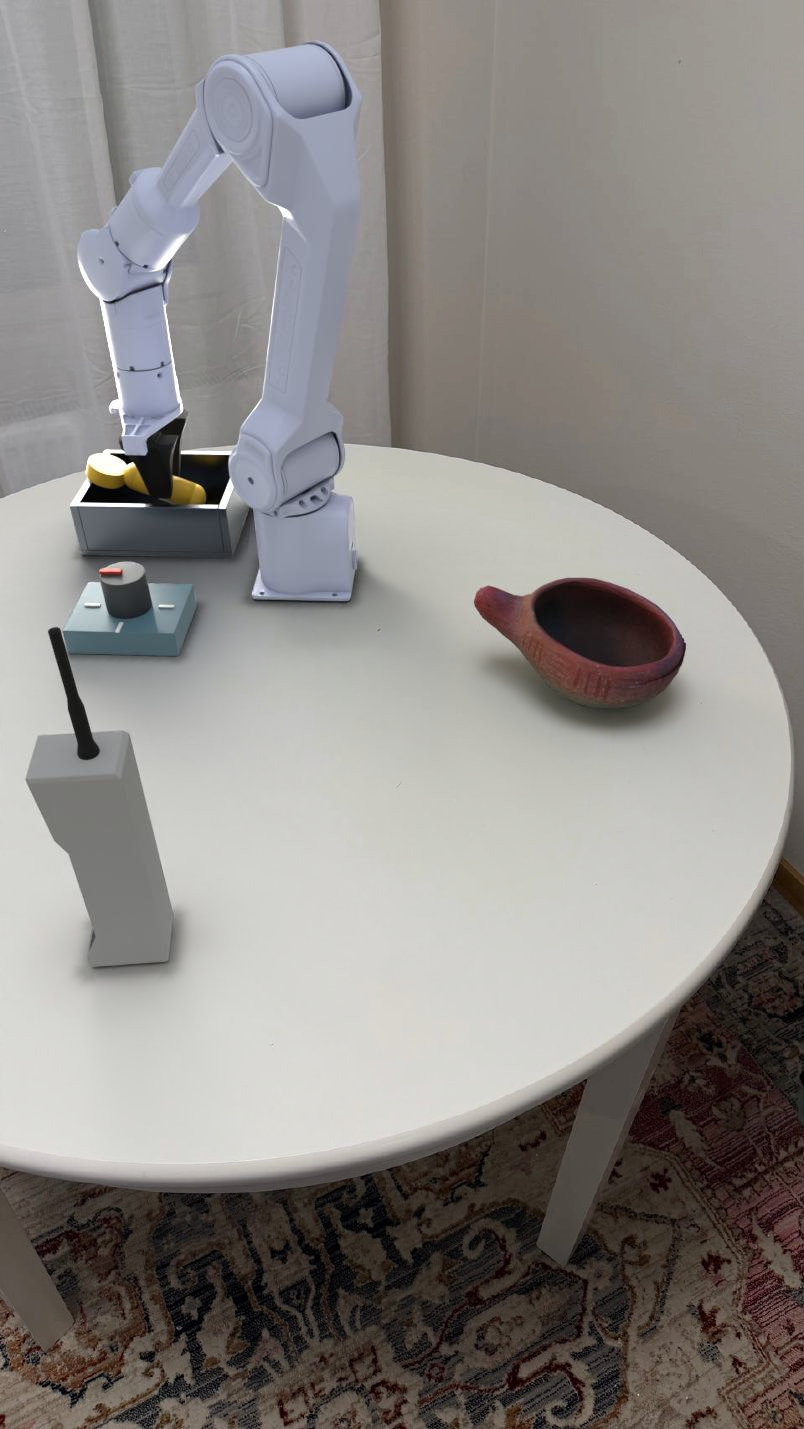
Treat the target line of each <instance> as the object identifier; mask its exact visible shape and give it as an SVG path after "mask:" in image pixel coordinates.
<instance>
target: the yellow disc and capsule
mask: <svg viewBox="0 0 804 1429" xmlns="http://www.w3.org/2000/svg"><path fill="white" fill-rule="evenodd" d="M85 476H86V479H87V478H88V479H89V480H90V481H91V482H93V483H94V484H96V485H98V486H101V487H104V488H111V489H114V488H120V487H122V486H123V485H124V484H126V485H127V486H128V487H129V488H131V489H133V490H136V491H139V492H141V493H144V494H147V495H149V493H148V491H147V488H146V486H145V484H144V482H143V480H142V478H141V476H140V474H139V472H138V470H137V468H136V466H135V465H134V463H130V464H129V465H126V464H125V463H124V462H123V461H122V460H121V459H119V458H117V457H115V456H112V455H109V454H103V453H94V454H91V455H90V456H89V457H88V459H87V464H86V469H85ZM161 500H164V501H166V502H169V503H172V504H185V505H204V504H205V502H206V493H205V490H204V489H203V488H202V487H201V486H200V485H198V484H196V483H193V482H191V481H188V480H185V479H182V478H180V477H177V476H174V475H173V491H172V496H171V498H170V499H161Z"/></svg>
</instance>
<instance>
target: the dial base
mask: <svg viewBox="0 0 804 1429" xmlns="http://www.w3.org/2000/svg"><path fill="white" fill-rule="evenodd" d="M148 586H149V591H150V596H151V600H152V605H151V607H150V609H149V610H148V611H147V612H145V613H144V614H142V615H139V616H136V617H132V618H117V617H114V616H112V615H111V614H109V613H108V611H107V608H106V604H105V599H104V595H103V591H102V587H101V583H100V581H88V582H87V584H86V586H85V588H83V591H82V592H81V595H80V597H79V599H78V601H77V602H76V604H75V606H74V608H73V610H72V611H71V613H70V616H69V618H68V619H67V620H66V623H65V625H64V627H63V628H62V629H61V633H62V637H63V640H64V644H65V647H66V651H67V654H73V655H75V654H77V655H80V654H81V655H112V656H113V655H117V656H153V657H154V656H158V657H159V656H160V657H178V656H180V654H181V650H182V648H183V644H184V642H185V639H186V636H187V633H188V631H189V629H190V626H191V623H192V621H193V619H194V615H195V612H196V610H197V608H198V602H197V597H196V591H195V586H194V584H193V583H170V582H169V583H166V582H165V583H164V582H163V583H161V582H148Z"/></svg>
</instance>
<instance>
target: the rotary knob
mask: <svg viewBox="0 0 804 1429" xmlns="http://www.w3.org/2000/svg"><path fill="white" fill-rule="evenodd" d="M98 573H99V576H98V578H99V582H100V583H101V587H102V591H103V595H104V599H105V604H106V608H107V611H108V613H109V614H111V615H112V616H114V617H117V618H132V617H136V616H139V615H142V614H144V613H145V612H147V611H148V610H149V609H150V607H151V605H152V600H151V596H150V591H149V586H148V583H149V582H148V576H147V572H146V568H145V567H144V566H143V564H141V563H138V562H135V561H118V562H115V563H111V564H109V565H107V566H106V567H100V569H99V571H98Z"/></svg>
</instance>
